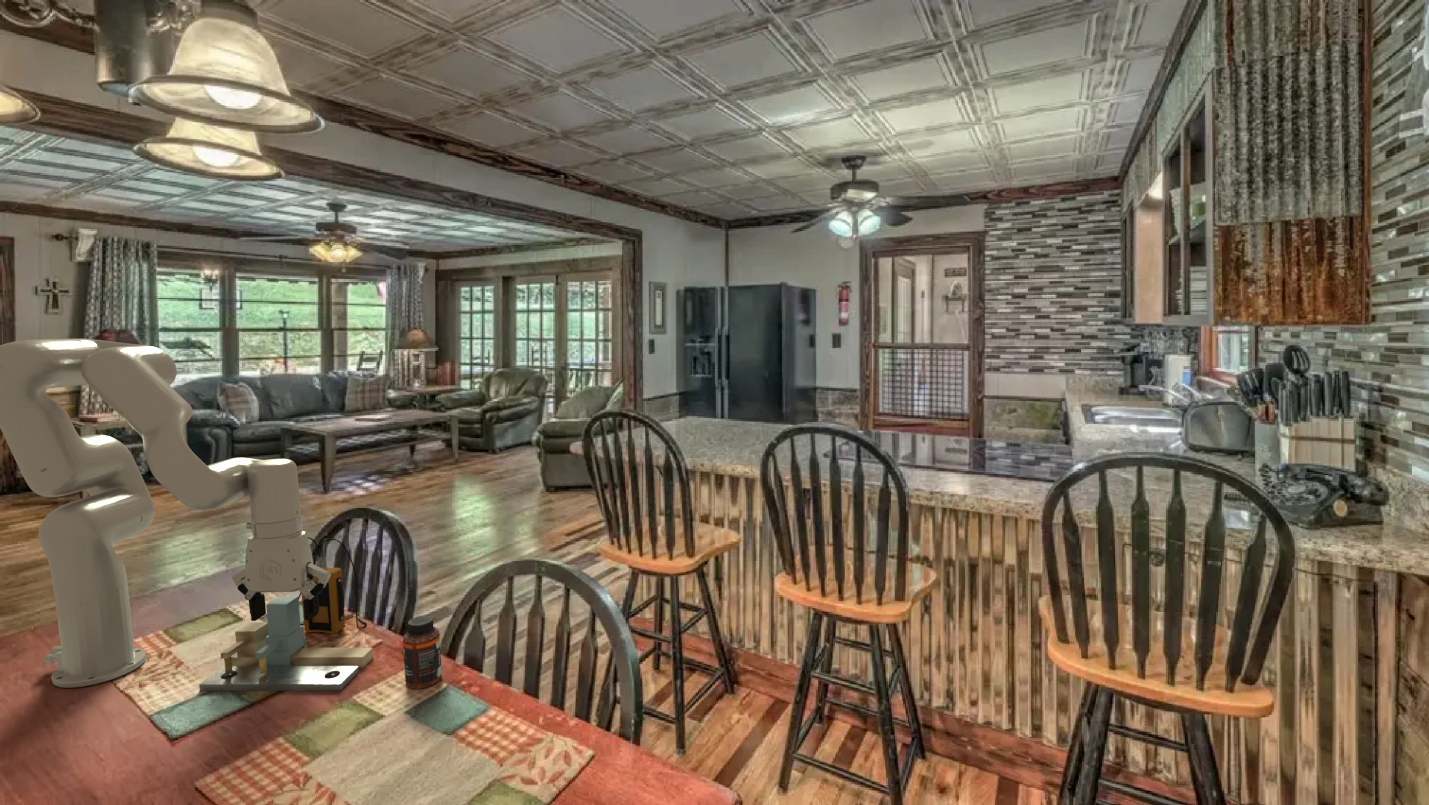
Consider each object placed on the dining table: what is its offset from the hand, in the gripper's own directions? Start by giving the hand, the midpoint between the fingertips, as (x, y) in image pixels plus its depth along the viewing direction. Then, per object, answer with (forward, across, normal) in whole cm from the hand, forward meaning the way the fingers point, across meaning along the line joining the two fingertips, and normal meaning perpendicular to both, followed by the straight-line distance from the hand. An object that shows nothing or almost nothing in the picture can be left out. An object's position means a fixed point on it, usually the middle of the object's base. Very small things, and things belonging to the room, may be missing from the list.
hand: (285, 617), depth 122 cm
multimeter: (+9, 0, +16) cm, 19 cm away
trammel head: (+8, 0, -2) cm, 9 cm away
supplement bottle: (+9, +28, -6) cm, 30 cm away
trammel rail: (+9, +3, -3) cm, 10 cm away
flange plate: (+9, +3, -6) cm, 11 cm away
